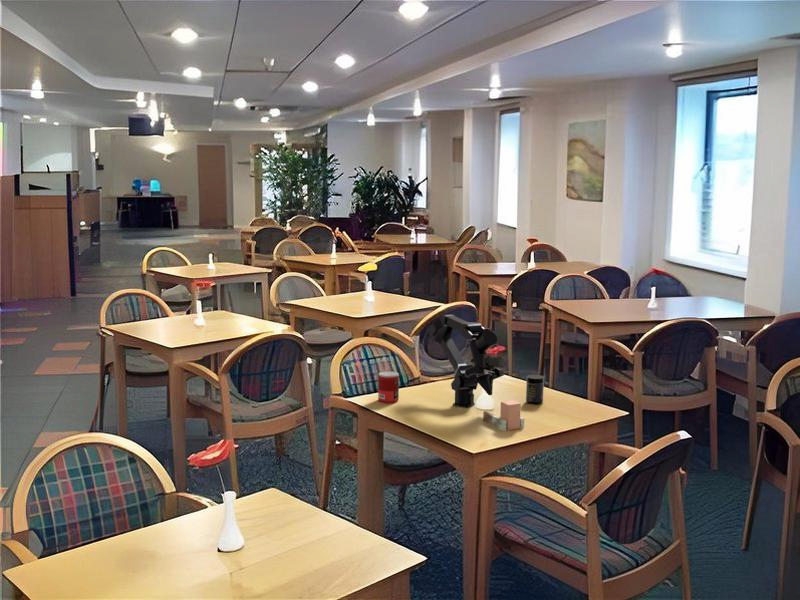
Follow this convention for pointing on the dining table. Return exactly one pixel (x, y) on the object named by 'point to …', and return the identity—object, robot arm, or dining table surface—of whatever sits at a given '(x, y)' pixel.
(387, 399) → the canned food
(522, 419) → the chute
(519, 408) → the block
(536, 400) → the supplement container
